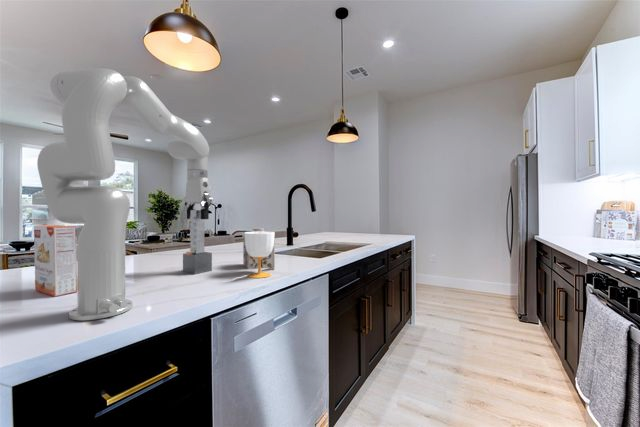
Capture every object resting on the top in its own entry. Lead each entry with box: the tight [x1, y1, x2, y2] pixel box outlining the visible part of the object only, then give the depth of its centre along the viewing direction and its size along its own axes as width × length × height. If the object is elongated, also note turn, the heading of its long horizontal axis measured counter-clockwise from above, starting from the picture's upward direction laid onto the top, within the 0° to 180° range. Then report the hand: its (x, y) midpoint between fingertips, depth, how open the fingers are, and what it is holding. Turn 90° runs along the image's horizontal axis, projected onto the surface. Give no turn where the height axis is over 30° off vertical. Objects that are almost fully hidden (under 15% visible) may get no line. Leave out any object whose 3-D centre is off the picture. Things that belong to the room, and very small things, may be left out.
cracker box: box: [33, 224, 78, 298], centre depth 87 cm, size 14×6×21 cm, turn 62°
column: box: [189, 209, 205, 255], centre depth 110 cm, size 4×4×20 cm
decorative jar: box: [242, 227, 276, 272], centre depth 123 cm, size 12×12×18 cm
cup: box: [243, 230, 276, 279], centre depth 110 cm, size 12×12×17 cm
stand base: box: [182, 251, 213, 275], centre depth 111 cm, size 12×12×10 cm
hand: (197, 218), depth 111 cm, fingers open, 8 cm apart
